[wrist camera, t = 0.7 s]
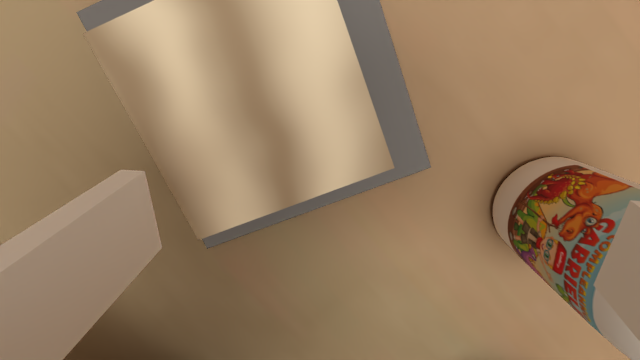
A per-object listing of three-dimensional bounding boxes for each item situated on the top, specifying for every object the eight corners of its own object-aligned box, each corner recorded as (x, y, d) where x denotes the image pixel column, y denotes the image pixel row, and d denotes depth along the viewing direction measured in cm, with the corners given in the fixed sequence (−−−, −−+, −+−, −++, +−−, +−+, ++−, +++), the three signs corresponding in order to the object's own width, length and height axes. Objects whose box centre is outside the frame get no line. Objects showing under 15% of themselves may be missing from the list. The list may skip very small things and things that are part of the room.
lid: (208, 225, 23) (198, 240, 21) (106, 36, 19) (82, 33, 17) (388, 158, 21) (394, 168, 19) (312, -59, 18) (312, -74, 16)
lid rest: (209, 245, 28) (188, 278, 24) (81, 13, 23) (26, 1, 19) (428, 165, 26) (450, 185, 22) (343, -111, 21) (348, -156, 16)
